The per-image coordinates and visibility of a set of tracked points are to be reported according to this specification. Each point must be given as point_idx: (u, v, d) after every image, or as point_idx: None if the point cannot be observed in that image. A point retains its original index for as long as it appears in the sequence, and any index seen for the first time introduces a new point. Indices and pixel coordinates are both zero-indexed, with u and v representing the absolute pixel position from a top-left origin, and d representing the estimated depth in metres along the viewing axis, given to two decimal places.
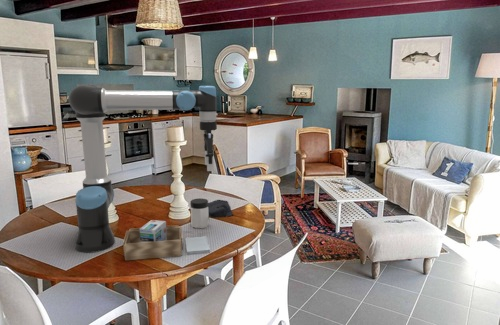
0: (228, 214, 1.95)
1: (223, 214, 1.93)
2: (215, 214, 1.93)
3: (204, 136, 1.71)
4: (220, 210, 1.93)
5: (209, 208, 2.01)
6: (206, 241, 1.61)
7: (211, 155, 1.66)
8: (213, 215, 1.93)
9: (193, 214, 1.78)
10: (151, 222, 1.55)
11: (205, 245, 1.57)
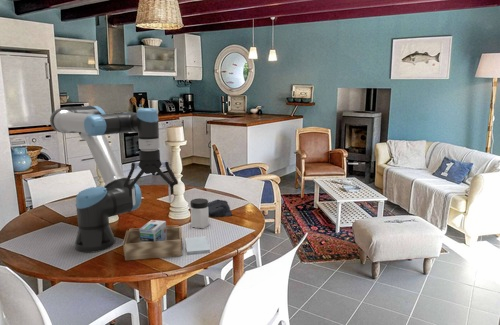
0: (227, 214, 1.95)
1: (222, 214, 1.93)
2: (214, 214, 1.93)
3: None
4: (219, 210, 1.93)
5: (208, 208, 2.01)
6: (206, 241, 1.61)
7: (124, 186, 1.47)
8: (212, 215, 1.93)
9: (193, 214, 1.78)
10: (151, 222, 1.55)
11: (205, 245, 1.57)
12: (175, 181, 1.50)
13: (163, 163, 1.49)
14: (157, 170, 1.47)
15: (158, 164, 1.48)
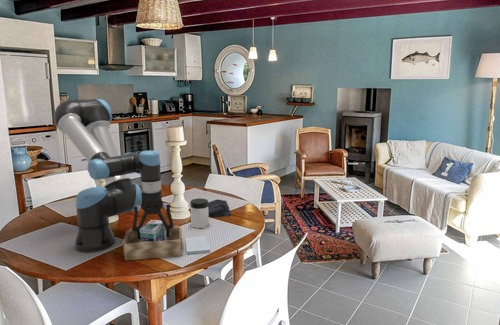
0: (226, 214, 1.95)
1: (221, 214, 1.93)
2: (213, 214, 1.93)
3: None
4: (218, 210, 1.93)
5: None
6: (206, 241, 1.61)
7: (132, 229, 1.51)
8: (211, 215, 1.93)
9: (193, 214, 1.78)
10: (151, 222, 1.55)
11: (205, 245, 1.57)
12: (171, 225, 1.53)
13: (165, 205, 1.52)
14: (158, 212, 1.51)
15: (160, 205, 1.51)
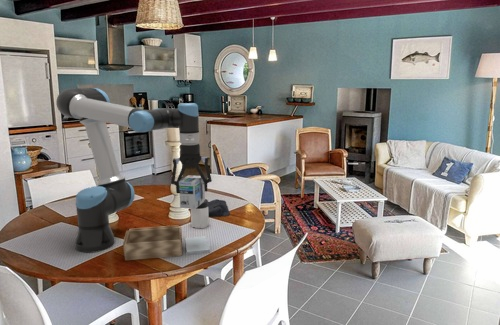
0: (225, 214, 1.95)
1: (220, 214, 1.94)
2: (212, 214, 1.93)
3: None
4: (217, 210, 1.94)
5: None
6: (206, 241, 1.61)
7: None
8: (210, 215, 1.94)
9: (193, 214, 1.78)
10: (189, 177, 1.54)
11: (205, 245, 1.57)
12: (209, 178, 1.52)
13: (203, 158, 1.51)
14: (196, 165, 1.50)
15: (198, 158, 1.50)
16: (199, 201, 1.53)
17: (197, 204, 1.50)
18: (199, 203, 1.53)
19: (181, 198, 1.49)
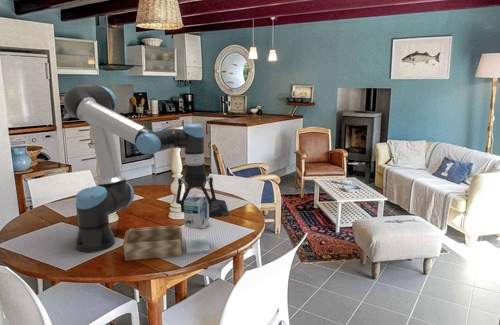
0: (224, 214, 1.96)
1: (219, 214, 1.94)
2: (211, 213, 1.93)
3: None
4: (216, 210, 1.94)
5: None
6: (206, 241, 1.61)
7: (176, 202, 1.53)
8: (209, 214, 1.94)
9: None
10: (193, 195, 1.57)
11: (205, 245, 1.57)
12: (214, 198, 1.55)
13: (208, 178, 1.53)
14: (201, 185, 1.52)
15: (203, 178, 1.52)
16: (204, 220, 1.55)
17: (202, 223, 1.53)
18: (203, 222, 1.55)
19: (186, 217, 1.51)
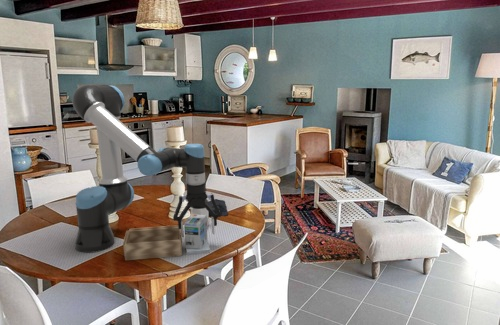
0: (223, 214, 1.96)
1: None
2: None
3: None
4: (215, 210, 1.94)
5: None
6: (206, 241, 1.61)
7: None
8: None
9: None
10: (193, 216, 1.58)
11: (205, 245, 1.57)
12: (219, 213, 1.56)
13: (209, 196, 1.55)
14: (203, 203, 1.54)
15: (204, 197, 1.54)
16: (204, 241, 1.57)
17: (202, 244, 1.54)
18: (203, 242, 1.57)
19: (186, 239, 1.53)
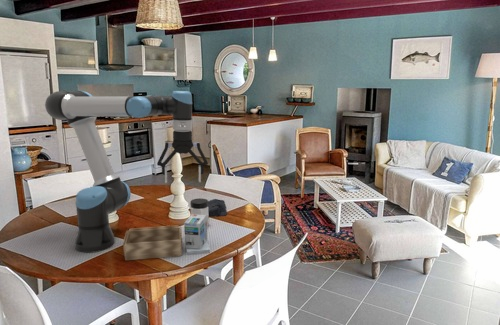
0: (222, 213, 1.96)
1: (217, 213, 1.94)
2: (209, 213, 1.94)
3: None
4: (214, 209, 1.94)
5: None
6: (206, 241, 1.61)
7: (157, 164, 1.55)
8: None
9: None
10: (193, 216, 1.58)
11: (205, 245, 1.57)
12: (205, 161, 1.58)
13: (195, 144, 1.56)
14: (189, 150, 1.55)
15: (190, 145, 1.55)
16: (204, 241, 1.57)
17: (202, 244, 1.54)
18: (203, 242, 1.57)
19: (186, 239, 1.53)
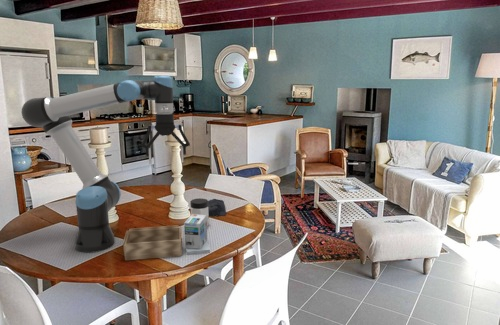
0: (221, 213, 1.96)
1: (216, 213, 1.94)
2: None
3: None
4: (213, 209, 1.94)
5: None
6: (206, 241, 1.61)
7: (141, 146, 1.63)
8: None
9: None
10: (193, 216, 1.58)
11: (205, 245, 1.57)
12: (187, 143, 1.66)
13: (177, 126, 1.65)
14: (171, 132, 1.64)
15: (172, 127, 1.64)
16: (204, 241, 1.57)
17: (202, 244, 1.54)
18: (203, 242, 1.57)
19: (186, 239, 1.53)
